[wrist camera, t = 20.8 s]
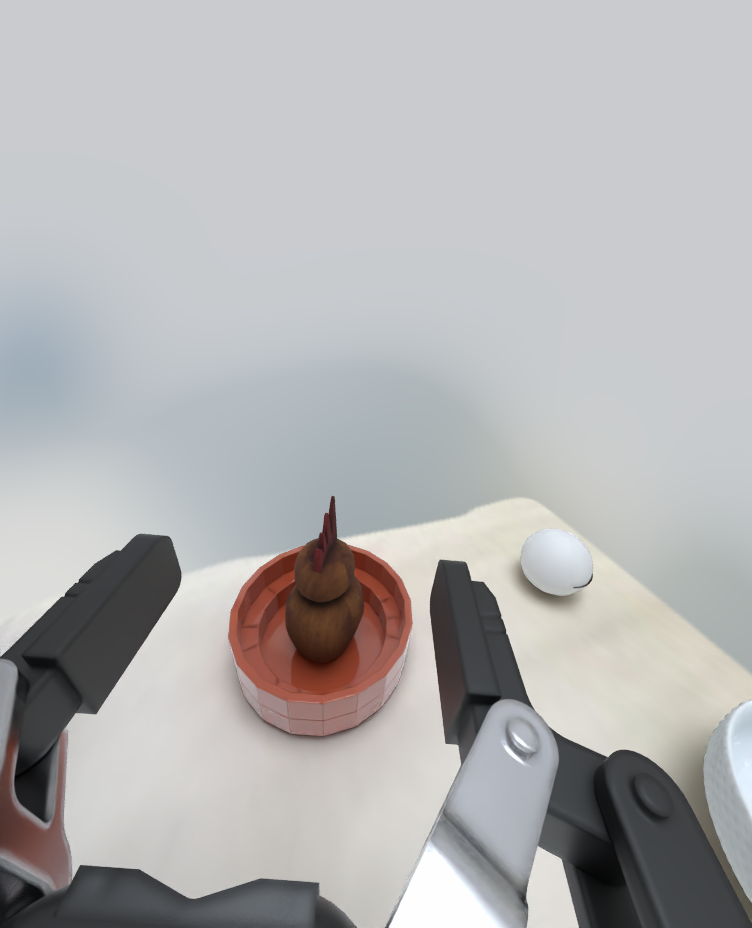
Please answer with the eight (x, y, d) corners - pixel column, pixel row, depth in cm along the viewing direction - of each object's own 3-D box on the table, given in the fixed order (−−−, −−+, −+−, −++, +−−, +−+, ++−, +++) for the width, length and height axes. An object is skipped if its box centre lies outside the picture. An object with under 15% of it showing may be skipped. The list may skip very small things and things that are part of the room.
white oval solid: (552, 621, 35) (577, 572, 32) (499, 571, 41) (516, 525, 37) (606, 588, 40) (634, 542, 36) (552, 548, 45) (572, 504, 42)
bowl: (206, 732, 25) (191, 694, 22) (269, 574, 38) (264, 537, 35) (408, 747, 25) (418, 711, 22) (401, 584, 38) (407, 548, 36)
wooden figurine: (325, 599, 35) (324, 477, 27) (371, 629, 32) (384, 504, 25) (275, 650, 30) (258, 519, 22) (325, 691, 27) (324, 557, 20)
